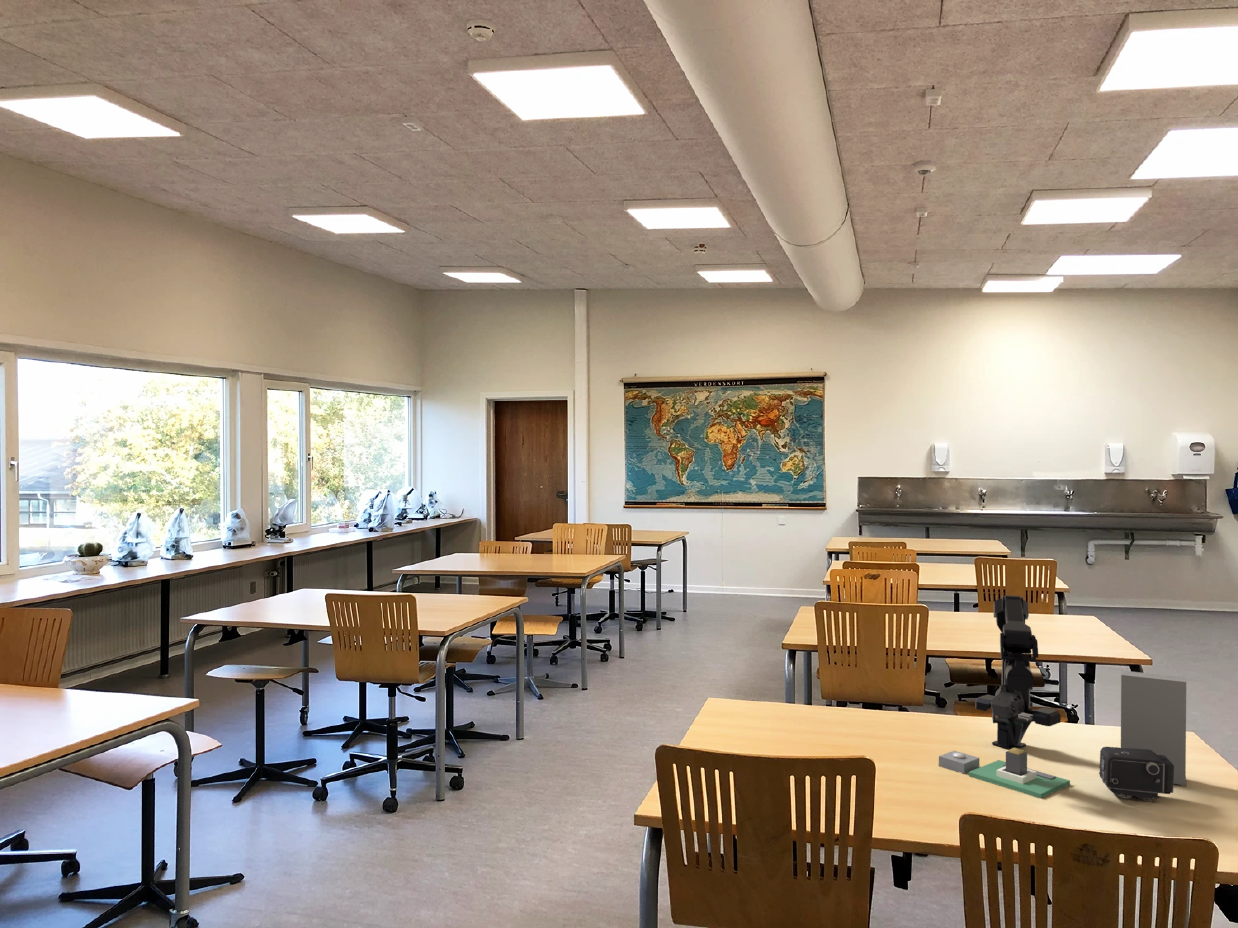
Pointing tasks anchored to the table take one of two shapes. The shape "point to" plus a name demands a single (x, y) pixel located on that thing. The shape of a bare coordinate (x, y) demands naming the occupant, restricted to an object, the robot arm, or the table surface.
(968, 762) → the grey push button
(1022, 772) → the plug
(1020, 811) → the table surface
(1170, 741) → the upright grey panel
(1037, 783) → the board
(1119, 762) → the camera
